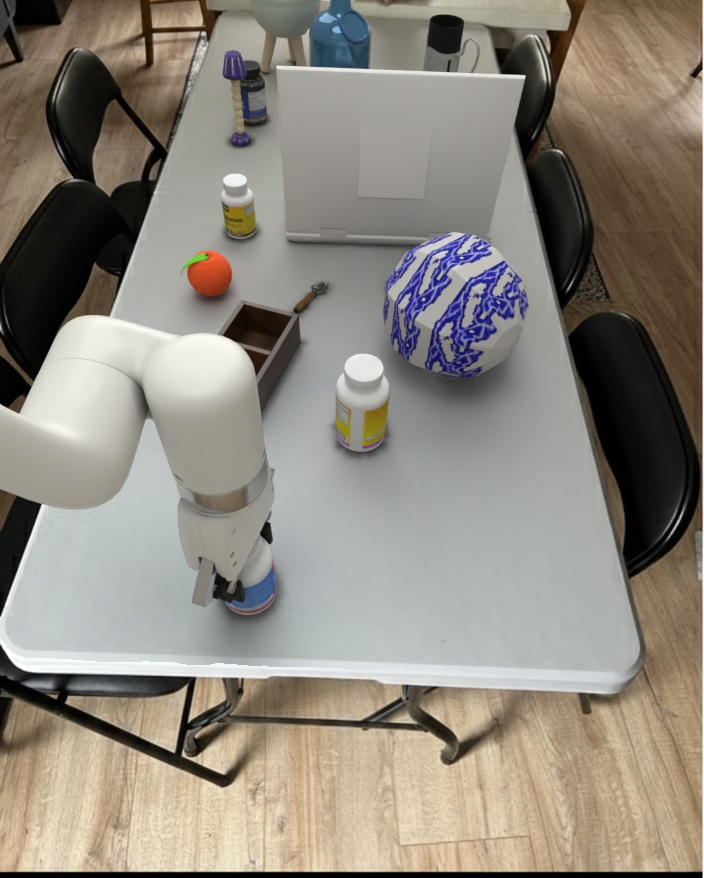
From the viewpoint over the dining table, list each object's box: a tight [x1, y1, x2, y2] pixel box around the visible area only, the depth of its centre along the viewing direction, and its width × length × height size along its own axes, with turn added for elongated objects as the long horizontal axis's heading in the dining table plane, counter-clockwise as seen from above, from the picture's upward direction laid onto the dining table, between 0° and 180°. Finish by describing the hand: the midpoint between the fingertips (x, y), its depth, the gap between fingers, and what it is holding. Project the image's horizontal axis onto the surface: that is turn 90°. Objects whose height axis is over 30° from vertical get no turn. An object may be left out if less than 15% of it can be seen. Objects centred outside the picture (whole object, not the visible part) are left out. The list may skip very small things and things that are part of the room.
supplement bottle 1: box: [220, 173, 257, 240], centre depth 106 cm, size 5×5×10 cm
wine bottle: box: [308, 0, 372, 69], centre depth 129 cm, size 14×13×30 cm
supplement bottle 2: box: [335, 353, 391, 453], centre depth 78 cm, size 7×7×13 cm
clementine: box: [180, 250, 233, 297], centre depth 97 cm, size 8×7×7 cm
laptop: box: [275, 65, 526, 247], centre depth 105 cm, size 35×26×28 cm
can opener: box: [292, 280, 330, 314], centre depth 99 cm, size 9×2×1 cm, turn 144°
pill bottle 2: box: [225, 534, 278, 616], centre depth 65 cm, size 6×6×11 cm
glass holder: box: [422, 13, 481, 73], centre depth 138 cm, size 9×14×15 cm, turn 43°
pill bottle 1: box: [239, 59, 268, 126], centre depth 131 cm, size 6×6×11 cm
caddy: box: [216, 299, 301, 413], centre depth 87 cm, size 9×17×6 cm, turn 161°
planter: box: [248, 0, 321, 74], centre depth 142 cm, size 16×16×22 cm
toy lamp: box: [222, 49, 252, 147], centre depth 123 cm, size 5×5×17 cm
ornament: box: [382, 232, 529, 380], centre depth 86 cm, size 20×20×20 cm
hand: (244, 565), depth 65 cm, fingers closed on pill bottle 2, 6 cm apart
